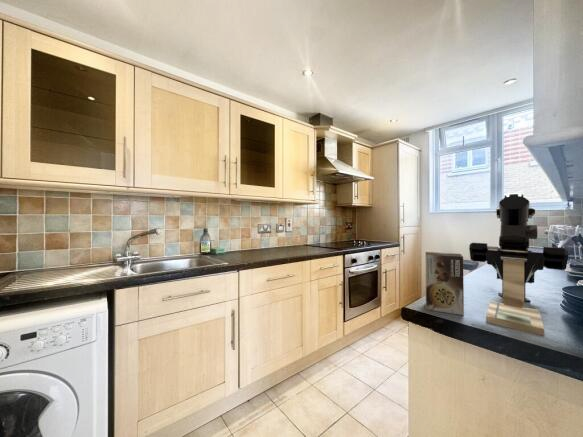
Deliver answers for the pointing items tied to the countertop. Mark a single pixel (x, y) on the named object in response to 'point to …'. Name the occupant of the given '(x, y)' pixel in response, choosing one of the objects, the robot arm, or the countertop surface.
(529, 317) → the maple board
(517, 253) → the robot arm
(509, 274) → the wooden block
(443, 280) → the food box
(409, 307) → the countertop surface
